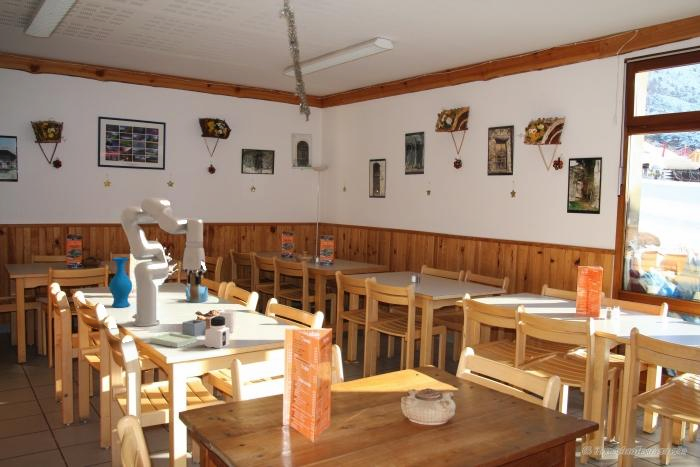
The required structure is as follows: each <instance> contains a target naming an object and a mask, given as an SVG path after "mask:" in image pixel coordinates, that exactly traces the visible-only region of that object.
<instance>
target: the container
mask: <svg viewBox="0 0 700 467" xmlns="http://www.w3.org/2000/svg"><path fill="white" fill-rule="evenodd" d="M204 335H205V338H204V339H205V340H204V341H205V342H204V344H205V345H204V347H205V346H207V347H206V348H211V347H215V348H214V349H219V348H221V349H223V348H225V347H227V346H229V345H230V333H229V328H227V327H225V317H223V316H219V315H215V316H211V317H210V318H209V328H206V330H205V334H204ZM222 347H223V348H222Z"/></svg>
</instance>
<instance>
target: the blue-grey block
mask: <svg viewBox="0 0 700 467" xmlns="http://www.w3.org/2000/svg"><path fill="white" fill-rule="evenodd" d="M206 329H207V321H205V320H200V319H190V320H186V321H183V322H182V335H188V336H193V337H197V338H198V337H200V336H203V335H205V330H206Z"/></svg>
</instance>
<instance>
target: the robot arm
mask: <svg viewBox="0 0 700 467" xmlns="http://www.w3.org/2000/svg"><path fill="white" fill-rule="evenodd" d="M156 221H157V224H158V226H159V228H160V229H161V230H163V231H165V232H166V233H168V234H171V235H182V234H186V239H185V240H186V241H185V243H184V244H185V248H184V252H183V261H182V269H183V270H184V272H185V273H186V275H187V283H188V284H190V273H191V272H194V271H195V272H196V276H195V285H200V286H201V284H202V276H203V274H204V273H206V272H207V268H206V256H205V255H206V254H205V248H204V221H203V220H202V219H201V218H191V217H173V209H172V208H171V202H170V201H169V200H168V199H167V198H165V197H147V198H144V199H143V200H142V202H141V204H140V206H139V205H138V206H135V205H134V206H128V207H126V208H124V209H123V210H122V212H121V215H120V223H121V226H122V228H123V231H124V233H125V235H126V237H127V241H128V244H129V248H130V251H131V255H132V257H133V259H134V260H135V261H141V262H139V263H137V264H136V265H135V267H134V269H133V271H134V272H133V274H134V279H135V286H136V297H135V298H136V313H134V315H132V317H131V318H132V319H135V320H134V321H133V324H132V325H134V326H135V327H136V326H137V327H152V326H157V325H159V324H160V320H159V319H157V287H156V284H155V283H154V281H155V280H161V279H166V278H167V277H168V275H169V273H170V269H169V263H168V260H167V256H166V254H165V249H164V247H163V245H162V243H160V242H159V241H158V240H148V239H147V237H146V234H145V231H144V230H143V228H142V227H141V226H140V225H139V224H147V223H155V222H156Z"/></svg>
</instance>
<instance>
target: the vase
mask: <svg viewBox="0 0 700 467" xmlns="http://www.w3.org/2000/svg"><path fill="white" fill-rule="evenodd" d="M112 259H113V261H114V262H115V263H116V272H115V275H114V276H113V277H112V279H111V280H110V282H109V285H108V287H109V292H110V293H111V295H112V297H113V302H112V304H111V308H127V307H130V306H131V303H130V302H129V296H130V293H131V292H132V288H133V283H132V281H131V279H130V278H129V276H128V274H127V273H126V271H125V264H126V262H127V261H128V260H129V257H124V256H122V257H113V258H112Z"/></svg>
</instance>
